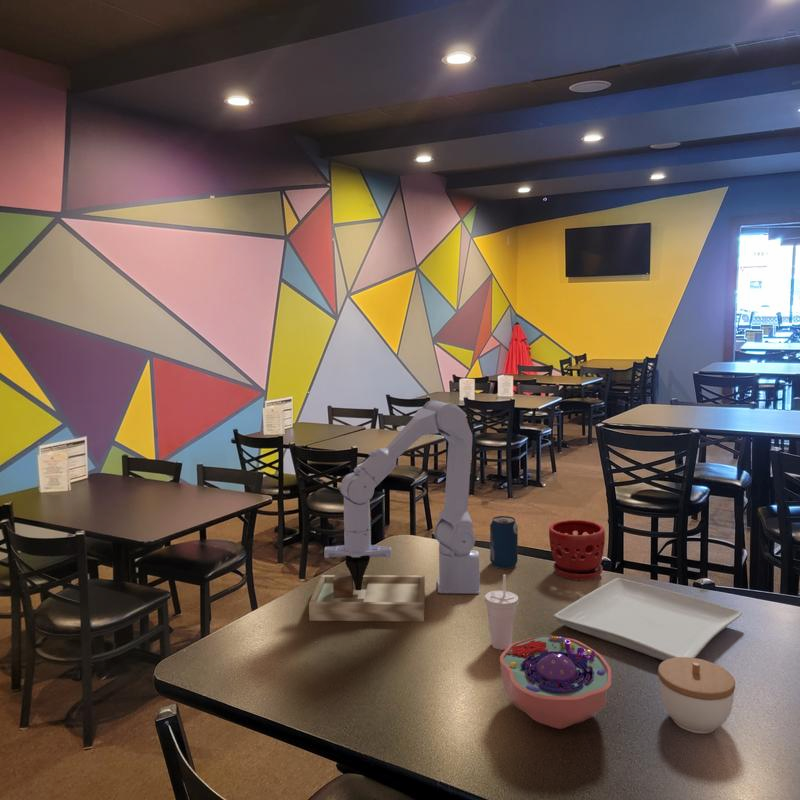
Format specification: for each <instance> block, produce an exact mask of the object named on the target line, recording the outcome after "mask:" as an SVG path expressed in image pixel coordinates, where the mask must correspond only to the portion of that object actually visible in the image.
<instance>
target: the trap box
mask: <svg viewBox="0 0 800 800" xmlns="http://www.w3.org/2000/svg"><path fill="white" fill-rule="evenodd" d="M334 576H335V574H321V575H320V577H319V580H318V582H317V584H316V587H315V589H314V591H313V594H312V595H311V598H310V601H309V603H308V615H309V618H308V619H309V620H308V621H311V622H312V621H313V622H314V621H316V622H318V621H319V622H320V621H324V622H330V621H331V622H332V621H333V622H335V621H336V622H425V600H426V599H425V595H426V594H425V593H426V591H425V590H426V583H425V582H426V579H425V578H426V577H425V575H424V574H423V575H422V574H421V575H419V574H418V575H414V574H413V575H411V574H410V575H406V574H404V575H403V574H402V575H398V574H394V575H393V574H391V575H390V574H389V575H386V574H384V575H383V574H380V575H379V574H377V575H376V574H373V575H372V574H370V575H369V574H367V575H366V574H364V576H363V581H362V589H361V590H355V584H354V592H353V596H352V598H334V594H333V579H334Z"/></svg>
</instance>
